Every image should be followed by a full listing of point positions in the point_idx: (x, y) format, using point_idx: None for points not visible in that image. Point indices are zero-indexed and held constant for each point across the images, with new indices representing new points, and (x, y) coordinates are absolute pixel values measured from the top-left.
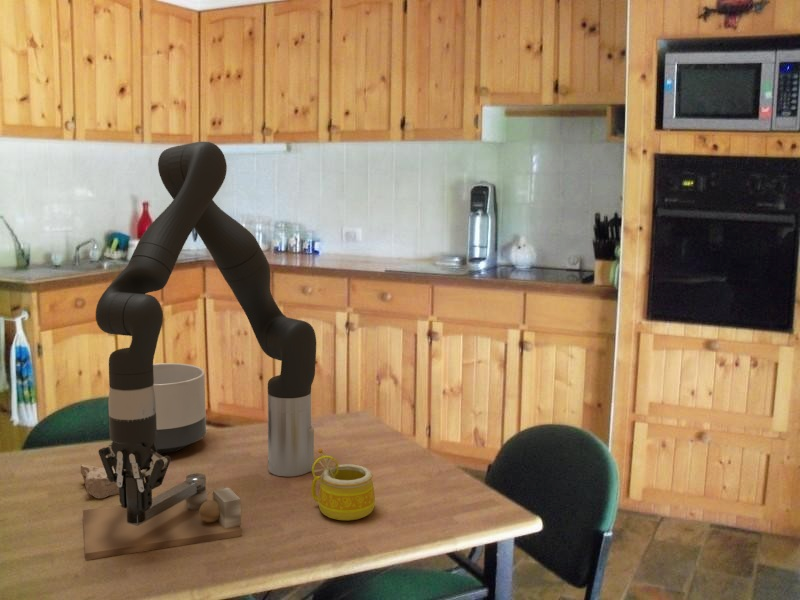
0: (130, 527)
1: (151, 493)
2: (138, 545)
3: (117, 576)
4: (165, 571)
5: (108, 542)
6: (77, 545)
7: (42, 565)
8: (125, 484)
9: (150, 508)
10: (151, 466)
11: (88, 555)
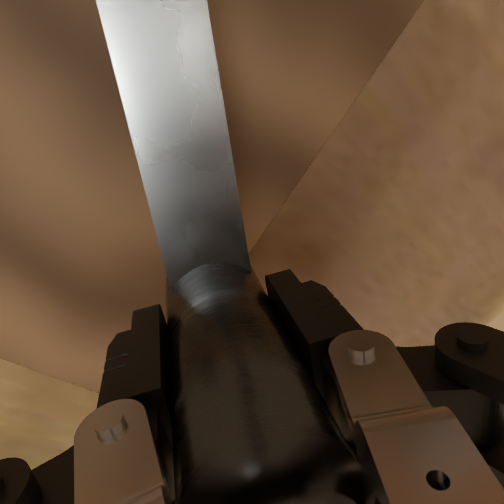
0: (62, 190)
1: (357, 325)
2: None
3: None
4: (398, 275)
5: (127, 323)
6: (8, 364)
7: None
8: (173, 468)
9: (244, 230)
10: (487, 480)
11: None
